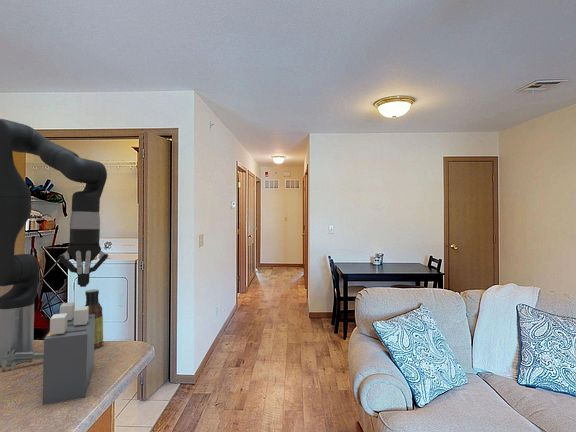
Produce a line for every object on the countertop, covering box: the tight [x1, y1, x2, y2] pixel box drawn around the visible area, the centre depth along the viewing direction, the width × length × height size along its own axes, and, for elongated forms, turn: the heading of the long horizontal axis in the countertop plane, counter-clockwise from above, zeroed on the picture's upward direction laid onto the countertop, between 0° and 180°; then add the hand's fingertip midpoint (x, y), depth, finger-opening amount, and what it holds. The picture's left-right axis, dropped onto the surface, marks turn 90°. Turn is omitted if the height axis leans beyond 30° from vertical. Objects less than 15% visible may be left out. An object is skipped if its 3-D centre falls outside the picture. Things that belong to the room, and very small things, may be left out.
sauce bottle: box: [84, 288, 104, 350], centre depth 115 cm, size 7×6×20 cm
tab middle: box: [74, 305, 89, 325], centre depth 91 cm, size 3×4×4 cm
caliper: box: [1, 349, 44, 372], centre depth 102 cm, size 20×1×6 cm, turn 128°
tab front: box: [49, 313, 68, 335], centre depth 84 cm, size 3×4×4 cm
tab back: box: [59, 301, 76, 320], centre depth 95 cm, size 3×4×4 cm
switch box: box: [41, 314, 95, 406], centre depth 90 cm, size 9×19×16 cm, turn 25°
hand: (83, 286), depth 96 cm, fingers closed
